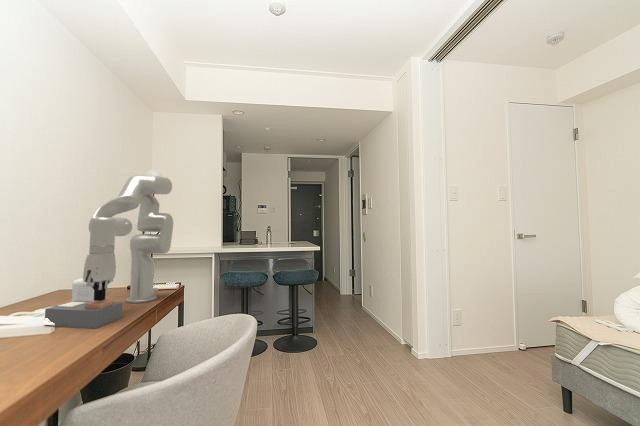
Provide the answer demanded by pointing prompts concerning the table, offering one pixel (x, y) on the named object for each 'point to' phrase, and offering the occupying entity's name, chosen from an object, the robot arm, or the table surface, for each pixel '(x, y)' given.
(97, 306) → the terracotta key
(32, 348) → the table surface
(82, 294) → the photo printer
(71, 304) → the white key
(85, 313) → the block
